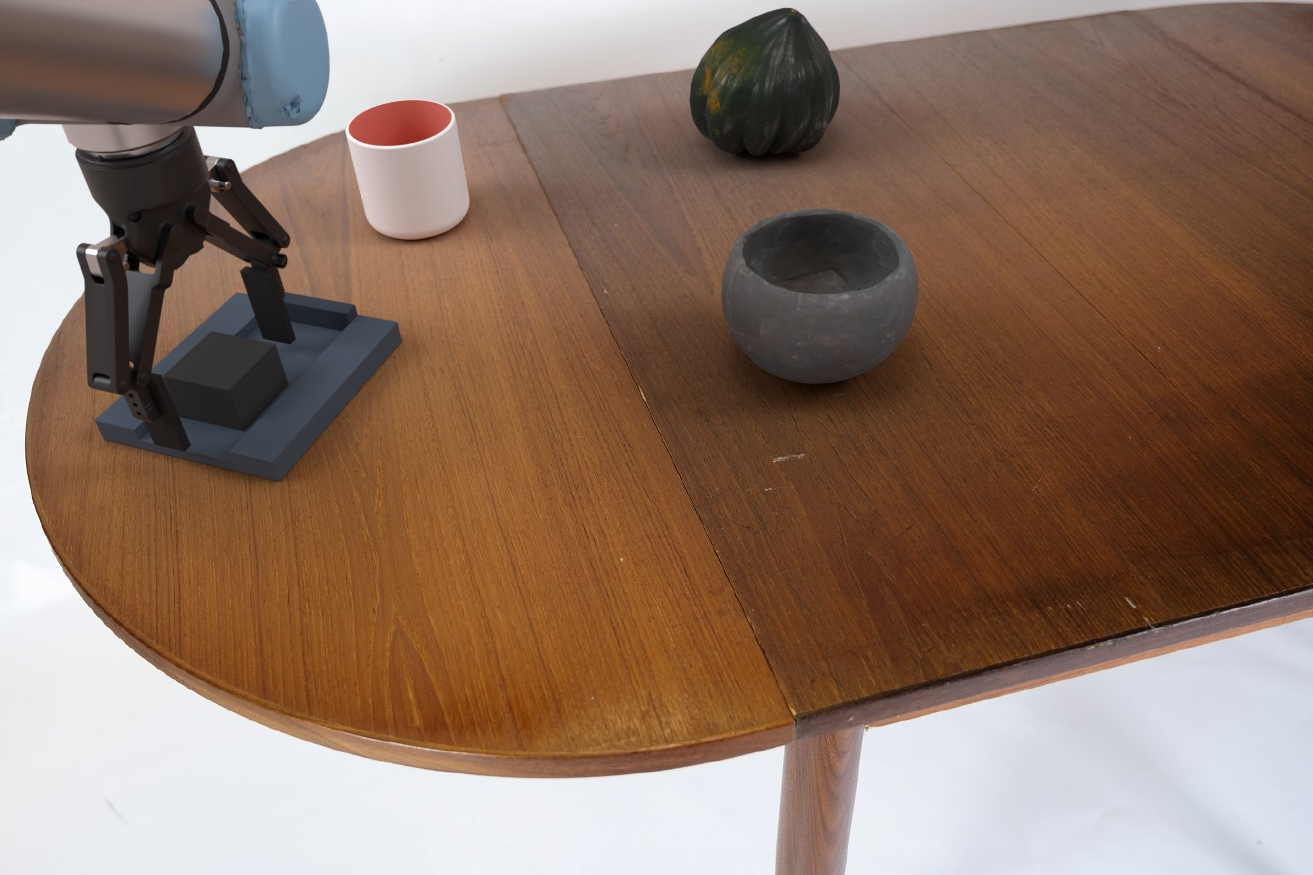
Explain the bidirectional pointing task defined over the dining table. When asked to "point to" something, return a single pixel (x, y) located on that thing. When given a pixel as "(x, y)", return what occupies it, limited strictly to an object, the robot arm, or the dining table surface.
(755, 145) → the squash
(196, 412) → the black block
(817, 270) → the bowl
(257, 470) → the dock pad
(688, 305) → the dining table surface
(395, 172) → the cup
